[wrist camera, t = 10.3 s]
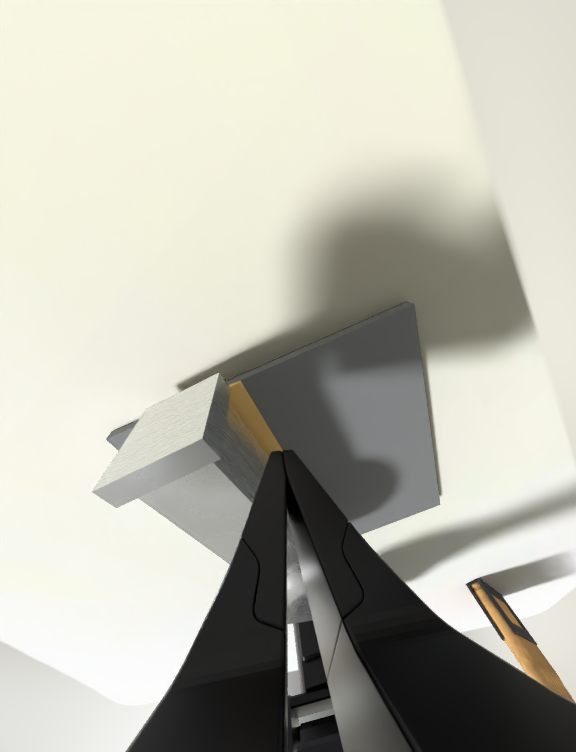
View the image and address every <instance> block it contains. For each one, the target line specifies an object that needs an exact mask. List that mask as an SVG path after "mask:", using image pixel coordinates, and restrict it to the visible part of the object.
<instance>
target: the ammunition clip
mask: <svg viewBox="0 0 576 752" xmlns="http://www.w3.org/2000/svg"><path fill="white" fill-rule="evenodd" d="M466 585H467V587H468V588H469V590H470V591H471V593H472V594H473V596H474V598H475V599H476V601H477V602H478V604H479V605H480V607H481V608H482V610H483V611H484V613H485V614H486V616H487V618H488V619H489V621H490V622H491V624H492V625H493V627H494V628H495V630H496V631H497V633H498V634H499V636H500V637H501V639H502V640H504V641H505V642H506V644H507V645H508V647H509V648H510V649H511V651H512V653H513V654H514V656H515V657H516V659H517V660H518V662H519V663H520V665H521V666H522V668H523V669H524V671H525V672H526V674H527V675H528V676H530V677H532V678H533V679H535V680H536V681H538V682H540V683H541V684H543V685H544V686H546V687H548V688H549V689H551V690H552V691H554V692H556V693H557V694H559V695H561V696H563V697H564V698H566V699H568V700H570V701H571V702H574V703H575V701H574V700H573V699H572V697H571V695H570V694H569V692H568V691H567V689H566V688H565V687H564V685H563V683H562V681H561V680H560V678H559V676H558V675H557V673H556V672H555V670H554V669H553V668H552V666H551V665H550V664H549V663H548V661H547V659H546V658H545V657H544V655H543V654H542V653H541V651H540V650H539V648H538V647H537V644H536V642H535V641H534V639H533V638H532V636H531V635H530V634H529V632H528V631H527V630H526V628H525V627H524V625H523V624H522V623H521V621H520V620H519V619H518V617H517V616H516V614H515V613H514V612H513V610H512V609H511V608H510V606H509V605H508V603H507V602H506V601H505V599H504V598H503V596H502V595H501V594H499V593H498V592H497V591H495V590H494V589H493V588H491V587H490V586H489V585H487V584H486V583H485V582H483V581H482V580H481V579H479V578H478V579H476V580H474V581H472V582H470V583H468V584H466Z"/></svg>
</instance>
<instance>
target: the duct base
mask: <svg viewBox="0 0 576 752" xmlns="http://www.w3.org/2000/svg"><path fill="white" fill-rule="evenodd" d="M226 382H227V384H228V385H229V386H230V388H231V391H230V399H229V403H230V404H231V406H232V407H233V408H234V410H235V411H236V412H237V414H238V415H239V416H240V418H241V419H242V420H243V422H244V423H245V424H246V425H247V427H248V428H249V429H250V431H251V432H252V433H253V435H254V436H255V437H256V439H257V440H258V441H259V443H260V444H261V445H262V447H263V448H264V449H265V451H266V452H267V453H268V455H269V456H270V453H271V452H272V451H281V452H282V451H283V450H290V449H292V450H293V451H294V452H295V453H296V454H297V456H298V457H299V458H300V459H301V461H302V462H303V463H304V464H305V466H306V467H307V468H308V469H309V471H310V472H311V473H312V474H313V476H314V477H315V478H316V479H317V481H318V482H319V483H320V485H321V486H322V487H323V488H324V490H325V491H326V492H327V493H328V495H329V496H330V497H331V498H332V500H333V501H334V502H335V503H336V505H337V506H338V507H339V508H340V510H341V511H342V512H343V514H344V515H345V516H346V517H347V519H348V520H349V521H348V522H351V523H352V525H353V526H354V527H355V528H356V530H357V531H358V532H359V533H360V535H361V534H364V533H367V532H369V531H372V530H375V529H377V528H380V527H382V526H385V525H388V524H390V523H393V522H396V521H398V520H401V519H404V518H406V517H409V516H411V515H414V514H417V513H419V512H422V511H425V510H427V509H430V508H433V507H435V506H438V505H440V498H439V491H438V483H437V475H436V468H435V460H434V453H433V445H432V437H431V430H430V422H429V414H428V407H427V399H426V391H425V384H424V376H423V368H422V361H421V353H420V346H419V338H418V330H417V323H416V315H415V307H414V304H412V303H409V302H405V303H403V304H400V305H398V306H396V307H394V308H391V309H389V310H387V311H385V312H382V313H380V314H378V315H375V316H373V317H371V318H369V319H366V320H364V321H362V322H360V323H357V324H355V325H353V326H350V327H348V328H346V329H344V330H341V331H339V332H337V333H335V334H332V335H330V336H328V337H326V338H323V339H321V340H319V341H316V342H314V343H312V344H310V345H307V346H305V347H303V348H301V349H298V350H296V351H294V352H292V353H289V354H287V355H285V356H282V357H280V358H278V359H276V360H273V361H271V362H269V363H267V364H264V365H262V366H260V367H257V368H255V369H253V370H251V371H248V372H246V373H244V374H242V375H239V376H237V377H235V378H233V379H230V380H228V381H226ZM138 421H139V420H137V421H135V422H133V423H130V424H128V425H126V426H124V427H121V428H119V429H117V430H115V431H112V432H111V433H110V435H109V436H108V437H107V439H106V440H107V441H108V442H109V443H111V444H112V445H113V446H114V447H115V448H116V449H117V450H118V451H119V450H120V448H121V447H122V445H123V444H124V442H125V441H126V439H127V437H128V436H129V434H130V433H131V431H132V430H133V428H134V427H135V425H136V424H137V422H138Z"/></svg>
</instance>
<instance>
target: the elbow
mask: <svg viewBox="0 0 576 752" xmlns="http://www.w3.org/2000/svg"><path fill="white" fill-rule="evenodd" d="M230 391H231V388H230V386H229V385H228V384H227V382H226V381H225V380H224V378H223V377H222V375H221V374H220V373H217V374H215V375H213V376H211V377H209V378H207V379H205V380H203V381H201V382H199V383H197V384H195V385H193V386H191V387H189V388H187V389H185V390H183V391H181V392H179V393H177V394H175V395H173V396H171V397H169V398H167V399H165V400H163V401H161V402H159V403H157V404H156V405H154V406H152V407H150V408H148V409H146V410H145V412H144V413H143V415H142V416H141V418H140V419H139V421H138V422H137V424H136V425H135V427H134V428H133V430H132V431H131V433H130V434H129V436H128V437H127V439H126V441H125V442H124V444H123V445H122V447H121V448H120V450H119V451H118V453H117V454H116V456H115V457H114V459H113V460H112V462H111V463H110V465H109V466H108V468H107V469H106V471H105V472H104V474H103V476H102V477H101V479H100V480H99V482H98V483H97V485H96V486H95V488H94V489H93V491H92V492H93V493H94V494H96V495H97V496H99V497H100V498H102V499H103V500H105V501H106V502H108V503H110V504H111V505H113V506H114V507H116V508H118V507H120V506H122V505H124V504H126V503H128V502H130V501H132V500H135V499H137V498H139V499H141V500H142V501H143V502H145V503H146V504H147V505H149V506H150V507H152V508H153V509H154V510H156V511H157V512H158V513H160V514H161V515H163V516H164V517H165V518H167V519H168V520H169V521H171V522H172V523H174V524H175V525H176V526H178V527H179V528H181V529H182V530H183V531H185V532H186V533H187V534H189V535H190V536H192V537H193V538H194V539H196V540H197V541H198V542H200V543H201V544H203V545H204V546H205V547H207V548H208V549H209V550H211V551H212V552H214V553H215V554H216V555H218V556H219V557H221V558H222V559H223V560H225V561H226V562H227V563H229V564H230V563H231V561H232V558H233V555H234V553H235V550H236V547H237V545H238V542H239V539H240V538H241V534H242V531H243V528H244V526H245V523H246V520H247V517H248V514H249V512H250V509H251V506H252V503H253V500H254V498H255V495H256V492H257V489H258V486H259V484H260V481H261V478H262V475H263V472H264V470H265V467H266V464H267V461H268V458H269V455H268V453H267V452H266V451H265V449H264V448H263V447H262V445H261V444H260V443H259V441H258V440H257V439H256V437H255V436H254V435H253V433H252V432H251V431H250V429H249V428H248V427H247V425H246V424H245V423H244V422H243V420H242V419H241V418H240V416H239V415H238V414H237V412H236V411H235V410H234V408H233V407H232V406H231V404H230V403H229V399H230ZM311 620H313V619H312V615H311V610H310V606H309V602H308V597H307V593H306V589H305V585H304V580H303V576H302V572H301V568H300V563H299V559H298V555H297V551H296V546H295V542H294V538H293V534H292V529H291V525H290V521H289V516H288V511H287V624H291V623H300V622H306V621H311Z"/></svg>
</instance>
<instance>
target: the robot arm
mask: <svg viewBox="0 0 576 752" xmlns="http://www.w3.org/2000/svg"><path fill="white" fill-rule="evenodd" d="M287 511H288V516H289V521H290V525H291V529H292V534H293V538H294V542H295V546H296V551H297V555H298V559H299V563H300V568H301V572H302V576H303V580H304V585H305V589H306V593H307V597H308V602H309V606H310V610H311V615H312V619H313V620H311V621H306V622H300V623H293V626H294V634H295V643H296V652H297V660H298V669H299V678H300V685H301V694H299V695H295V696H290V695H289V696H288V692H287V687H288V686H287V680H288V679H287V675H288V673H287ZM348 521H349V520H348V519H347V517H346V516H345V515H344V514H343V512H342V511H341V510H340V508H339V507H338V506H337V505H336V503H335V502H334V501H333V500H332V498H331V497H330V496H329V495H328V493H327V492H326V491H325V490H324V488H323V487H322V486H321V485H320V483H319V482H318V481H317V479H316V478H315V477H314V476H313V474H312V473H311V472H310V471H309V469H308V468H307V467H306V466H305V464H304V463H303V462H302V461H301V459H300V458H299V457H298V456H297V454H296V453H295V452H294V451H293V450H292V449H290V450H283V451H282V452H281V451H272V452H271V453H270V456H269V458H268V461H267V464H266V467H265V470H264V472H263V475H262V478H261V481H260V484H259V486H258V489H257V492H256V495H255V498H254V500H253V503H252V506H251V509H250V512H249V514H248V517H247V520H246V523H245V526H244V528H243V531H242V534H241V538H240V539H239V542H238V545H237V547H236V550H235V553H234V555H233V558H232V561H231V563H230V566H229V568H228V571H227V573H226V575H225V577H224V580H223V582H222V584H221V586H220V589H219V591H218V593H217V595H216V597H215V599H214V601H213V603H212V605H211V608H210V610H209V612H208V614H207V616H206V618H205V620H204V622H203V624H202V626H201V628H200V630H199V632H198V635H197V637H196V639H195V641H194V643H193V645H192V647H191V649H190V651H189V653H188V655H187V657H186V659H185V661H184V663H183V665H182V667H181V669H180V670H179V672H178V674H177V676H176V677H175V679H174V681H173V683H172V684H171V686H170V688H169V689H168V691H167V692H166V694H165V696H164V697H163V699H162V700H161V701H160V703H159V704H158V706H157V707H156V709H155V710H154V711H153V713H152V714H151V716H150V717H149V719H148V720H147V722H146V723H145V724H144V726H143V728H142V729H141V730H140V732H139V733H138V734H137V736H136V737H135V739H134V740H133V742H132V743H131V745H130V746H129V747H128V749H127V750H126V752H576V703H574V702H571V701H570V700H568V699H566V698H564V697H563V696H561V695H559V694H557V693H556V692H554V691H552V690H551V689H549V688H548V687H546V686H544V685H543V684H541V683H540V682H538V681H536V680H535V679H533V678H532V677H530V676H528V675H527V674H525V673H523V672H522V671H520V670H519V669H517V668H515V667H514V666H512V665H511V664H509V663H508V662H506V661H504V660H503V659H501V658H500V657H498V656H496V655H495V654H493V653H492V652H490V651H488V650H487V649H485V648H484V647H482V646H481V645H479V644H477V643H476V642H474V641H472V640H471V639H469V638H468V637H466V636H465V635H463V634H461V633H460V632H458V631H457V630H455V629H454V628H453V627H451V626H450V625H448V624H447V623H446V622H445V621H443V620H442V619H441V618H440V617H439V616H438V615H436V614H435V613H434V612H433V611H432V610H431V609H430V608H429V607H428V606H427V605H426V604H425V603H424V602H423V601H422V600H421V599H420V598H419V597H418V596H417V595H416V594H415V593H414V592H413V591H412V590H411V589H410V588H409V587H408V585H407V584H406V583H405V582H404V581H403V580H402V579H401V578H400V577H399V576H398V575H397V574H396V573H395V572H394V571H393V570H392V569H391V568H390V567H389V566H388V565H387V564H386V563H385V562H384V561H383V560H382V558H381V557H380V556H379V555H378V554H377V553H376V552H375V551H374V550H373V549H372V548H371V547H370V545H369V544H368V543H367V542H366V541H365V539H364V538H363V537H362V536H361V535H360V533H359V532H358V531H357V530H356V528H355V527H354V526H353V525H352V523H351V522H348ZM331 708H334V712H335V714H334V715H331V716H328V717H324V718H320V719H317V720H313V721H310V722H306V723H302V724H301V726H299V720H298V718H299V717H303V716H306V715H310V714H314V713H317V712H321V711H324V710H328V709H331Z"/></svg>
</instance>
